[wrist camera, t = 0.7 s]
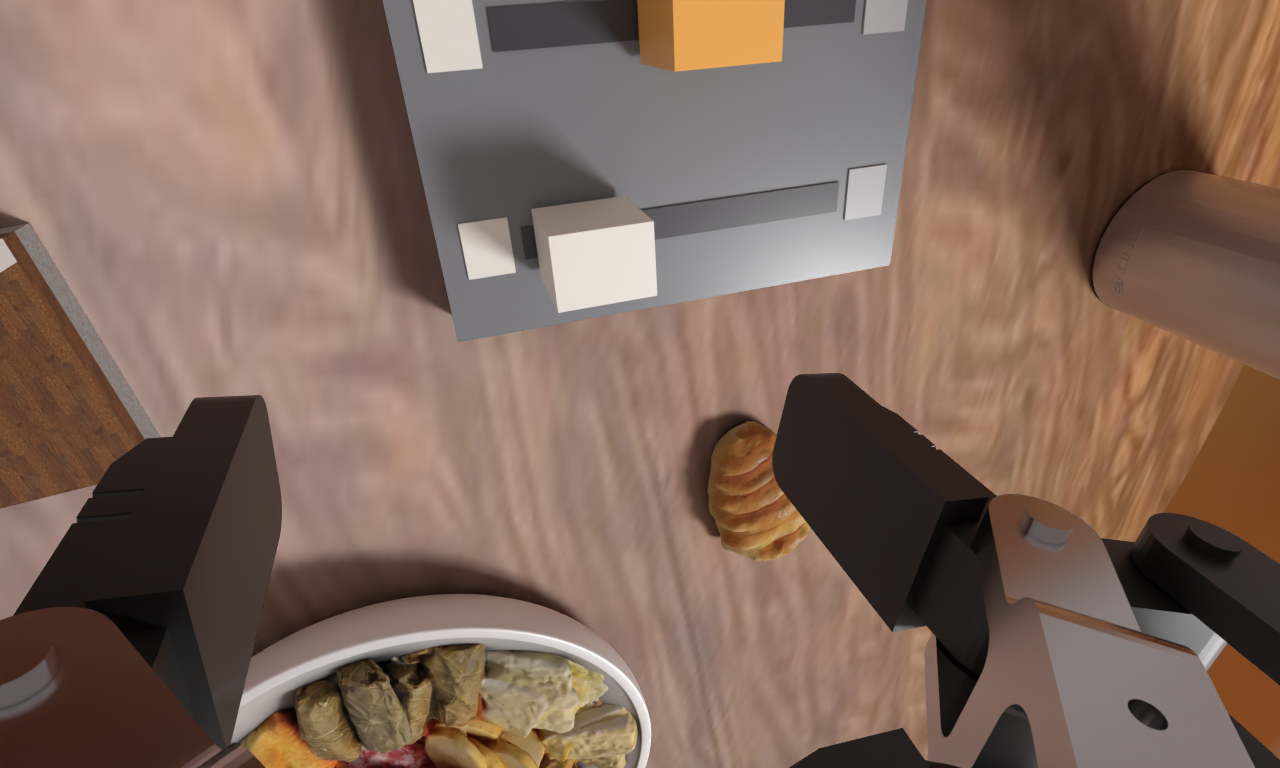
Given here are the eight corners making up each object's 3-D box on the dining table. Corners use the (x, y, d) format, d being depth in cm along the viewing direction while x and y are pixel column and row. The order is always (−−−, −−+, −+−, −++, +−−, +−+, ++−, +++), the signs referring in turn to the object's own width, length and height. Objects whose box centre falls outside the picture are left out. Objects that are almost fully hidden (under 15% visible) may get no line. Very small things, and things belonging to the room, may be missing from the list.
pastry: (679, 445, 40) (703, 482, 37) (777, 396, 41) (809, 429, 38) (719, 544, 45) (743, 584, 42) (806, 500, 46) (836, 536, 43)
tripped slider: (736, -34, 25) (786, -40, 22) (735, 55, 27) (781, 61, 23) (635, -28, 24) (671, -33, 21) (640, 63, 26) (674, 71, 22)
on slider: (624, 195, 28) (653, 220, 25) (629, 263, 30) (657, 295, 26) (531, 208, 27) (548, 236, 24) (540, 277, 29) (558, 312, 25)
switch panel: (896, -109, 29) (944, -120, 26) (857, 247, 37) (890, 265, 34) (365, -90, 24) (359, -102, 21) (454, 316, 32) (458, 343, 29)
